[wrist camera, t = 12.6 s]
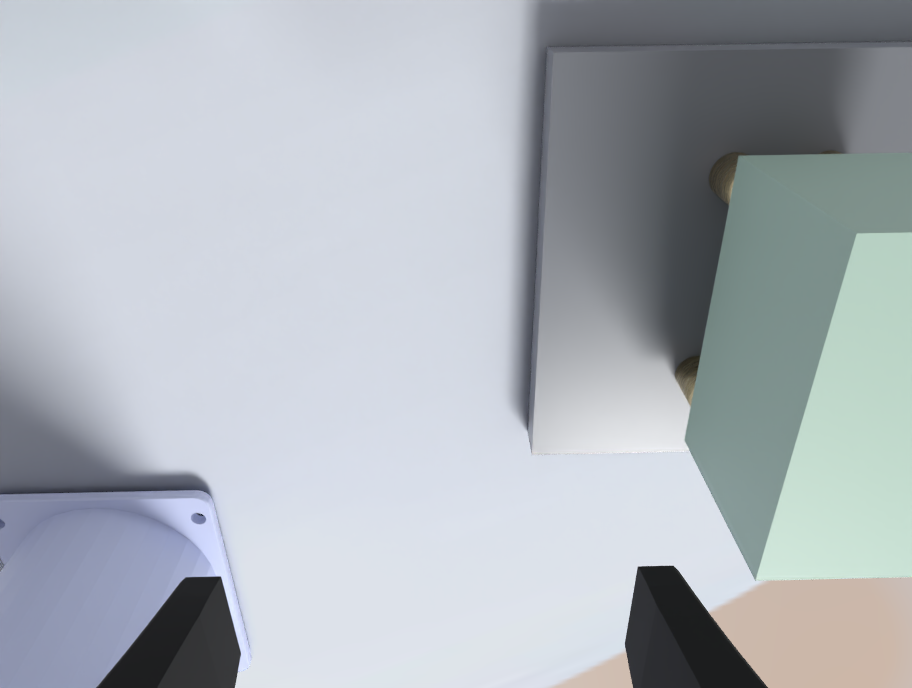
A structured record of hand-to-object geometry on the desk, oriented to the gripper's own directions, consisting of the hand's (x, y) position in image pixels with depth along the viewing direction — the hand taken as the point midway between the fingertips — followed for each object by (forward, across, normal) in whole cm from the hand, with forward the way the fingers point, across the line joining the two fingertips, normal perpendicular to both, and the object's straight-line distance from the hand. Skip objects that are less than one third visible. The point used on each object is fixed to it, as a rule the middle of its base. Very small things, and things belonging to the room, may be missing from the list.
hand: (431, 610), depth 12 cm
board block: (+7, -9, -2) cm, 12 cm away
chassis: (+10, -9, -2) cm, 14 cm away
